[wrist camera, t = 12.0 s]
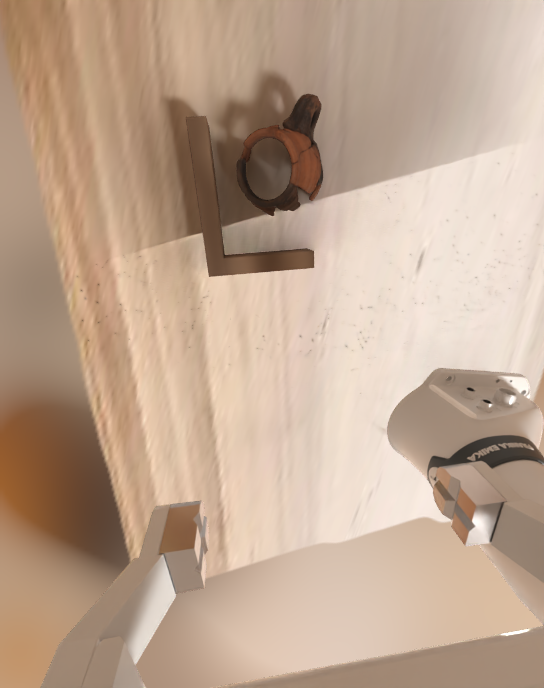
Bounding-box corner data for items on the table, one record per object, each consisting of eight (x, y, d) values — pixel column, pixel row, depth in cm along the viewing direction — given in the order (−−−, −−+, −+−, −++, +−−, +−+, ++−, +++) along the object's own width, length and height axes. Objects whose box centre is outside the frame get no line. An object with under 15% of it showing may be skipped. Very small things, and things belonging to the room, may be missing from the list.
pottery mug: (312, 225, 39) (290, 229, 33) (251, 198, 41) (218, 196, 34) (354, 116, 33) (338, 93, 26) (280, 90, 35) (247, 62, 28)
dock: (304, 123, 35) (312, 111, 31) (307, 263, 41) (314, 267, 37) (191, 128, 34) (185, 117, 30) (211, 271, 40) (209, 276, 36)
